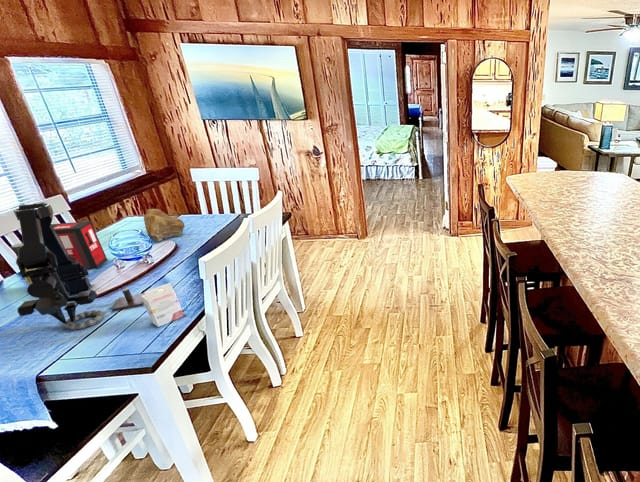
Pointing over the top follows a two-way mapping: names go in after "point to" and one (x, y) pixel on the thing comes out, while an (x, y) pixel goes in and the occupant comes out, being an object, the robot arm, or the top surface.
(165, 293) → the ink cartridge box
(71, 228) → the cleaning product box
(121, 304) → the tape stand
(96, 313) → the grey-brown segmented ring
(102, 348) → the top surface
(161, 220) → the rough brown rock
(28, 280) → the sauce bottle
